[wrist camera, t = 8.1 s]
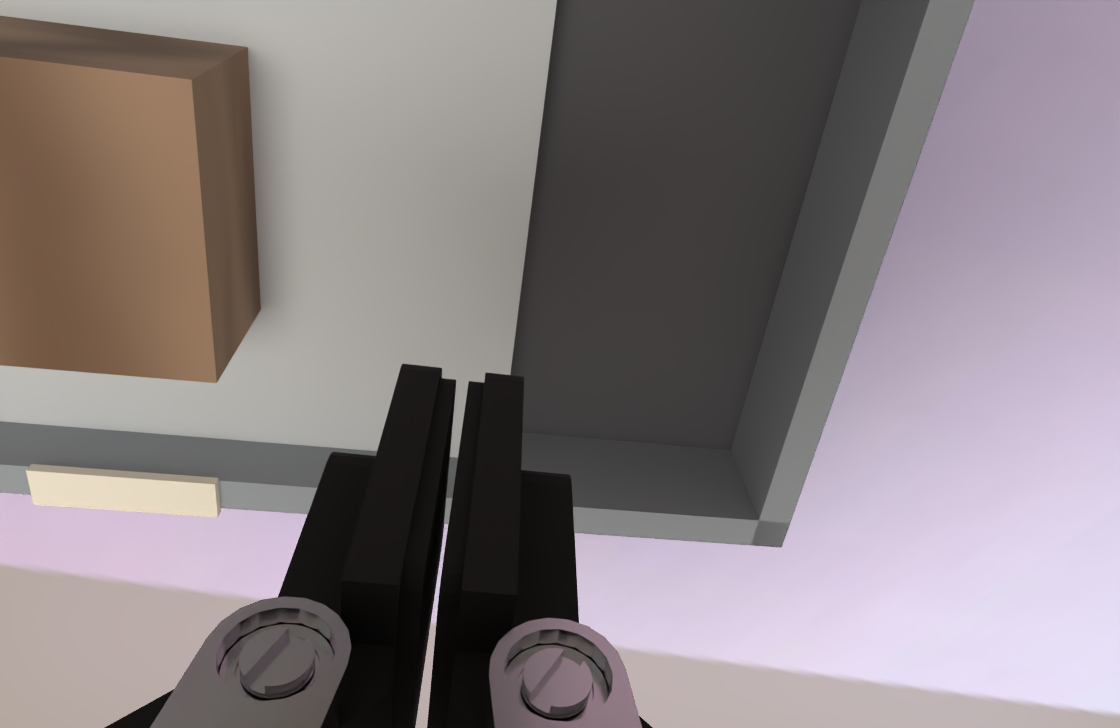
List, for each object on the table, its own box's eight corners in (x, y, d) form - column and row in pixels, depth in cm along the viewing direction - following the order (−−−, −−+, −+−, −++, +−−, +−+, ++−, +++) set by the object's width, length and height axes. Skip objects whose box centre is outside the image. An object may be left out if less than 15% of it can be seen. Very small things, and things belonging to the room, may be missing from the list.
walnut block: (247, 47, 20) (191, 79, 16) (260, 309, 23) (216, 382, 20) (-68, 7, 19) (-198, 32, 15) (-6, 284, 22) (-101, 357, 19)
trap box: (920, -112, 21) (1022, -113, 17) (745, 463, 30) (783, 556, 26) (-616, -369, 17) (-976, -454, 13) (-295, 378, 26) (-448, 471, 22)
